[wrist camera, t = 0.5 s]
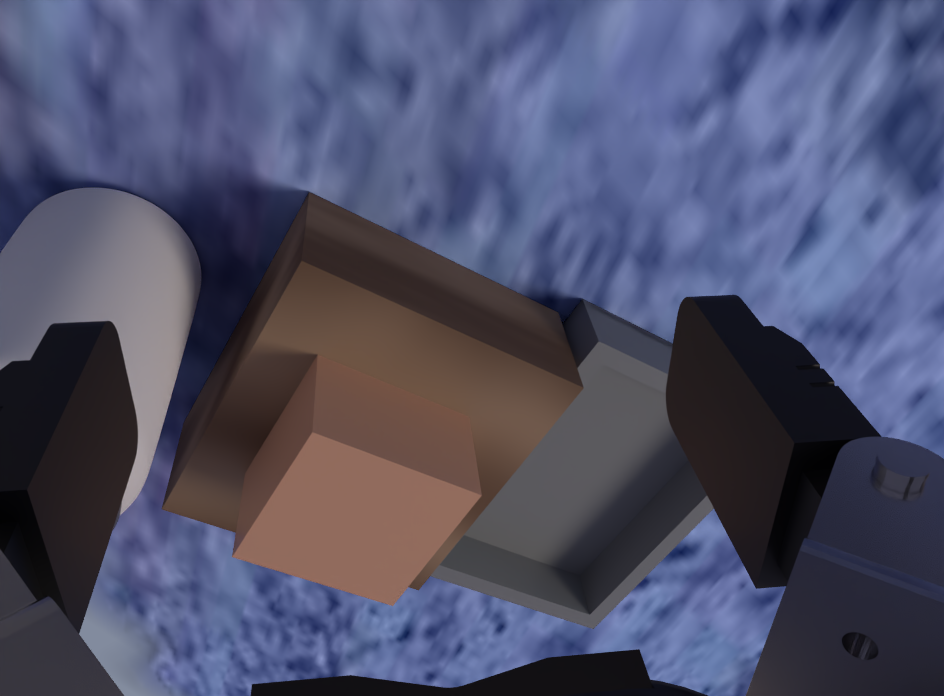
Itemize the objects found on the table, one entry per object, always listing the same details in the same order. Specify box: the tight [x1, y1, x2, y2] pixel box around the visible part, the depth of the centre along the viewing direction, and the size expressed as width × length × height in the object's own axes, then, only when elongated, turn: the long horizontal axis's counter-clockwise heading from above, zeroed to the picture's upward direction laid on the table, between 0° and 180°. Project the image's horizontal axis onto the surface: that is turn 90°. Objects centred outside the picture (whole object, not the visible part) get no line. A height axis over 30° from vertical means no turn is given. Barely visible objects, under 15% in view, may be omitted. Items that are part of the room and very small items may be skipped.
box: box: [431, 299, 714, 629], centre depth 39 cm, size 14×10×3 cm
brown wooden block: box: [162, 192, 584, 590], centre depth 34 cm, size 12×11×5 cm
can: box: [0, 188, 201, 531], centre depth 27 cm, size 6×6×12 cm
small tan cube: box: [232, 355, 482, 606], centre depth 30 cm, size 6×6×4 cm
